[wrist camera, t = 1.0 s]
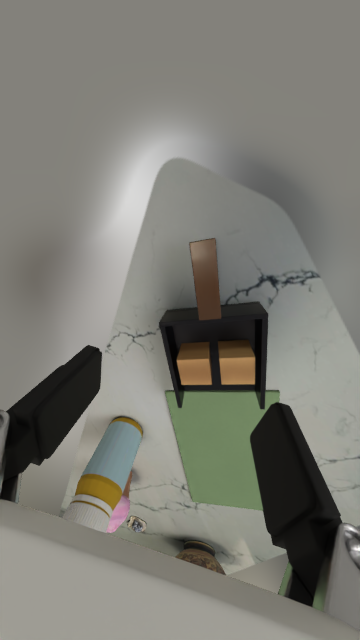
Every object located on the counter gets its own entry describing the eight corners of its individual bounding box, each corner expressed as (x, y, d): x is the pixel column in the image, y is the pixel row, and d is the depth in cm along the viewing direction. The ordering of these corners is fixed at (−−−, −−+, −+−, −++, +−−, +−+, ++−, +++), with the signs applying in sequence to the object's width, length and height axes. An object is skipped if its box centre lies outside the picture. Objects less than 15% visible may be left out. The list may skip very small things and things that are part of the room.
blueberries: (129, 525, 58) (126, 534, 56) (123, 514, 55) (120, 522, 53) (148, 529, 57) (146, 539, 55) (144, 518, 53) (142, 527, 52)
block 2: (217, 341, 25) (219, 358, 21) (248, 339, 24) (255, 357, 20) (220, 364, 26) (221, 384, 23) (248, 363, 25) (255, 384, 22)
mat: (165, 390, 31) (164, 392, 30) (279, 390, 27) (279, 392, 27) (192, 499, 45) (192, 501, 44) (270, 509, 41) (270, 511, 41)
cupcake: (136, 484, 46) (118, 544, 37) (104, 473, 46) (79, 530, 37) (142, 467, 42) (123, 529, 33) (107, 455, 42) (79, 513, 33)
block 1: (181, 343, 26) (176, 360, 22) (209, 341, 25) (208, 358, 21) (185, 365, 27) (181, 385, 24) (211, 365, 26) (211, 384, 23)
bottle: (112, 434, 39) (60, 540, 25) (109, 412, 36) (48, 518, 22) (144, 441, 38) (107, 553, 24) (143, 419, 35) (100, 533, 21)
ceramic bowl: (244, 540, 55) (262, 632, 41) (222, 577, 59) (232, 674, 44) (170, 513, 56) (161, 594, 41) (153, 551, 59) (139, 638, 44)
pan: (153, 248, 22) (141, 250, 18) (259, 230, 19) (272, 227, 15) (181, 387, 30) (177, 410, 26) (257, 387, 28) (265, 412, 24)
